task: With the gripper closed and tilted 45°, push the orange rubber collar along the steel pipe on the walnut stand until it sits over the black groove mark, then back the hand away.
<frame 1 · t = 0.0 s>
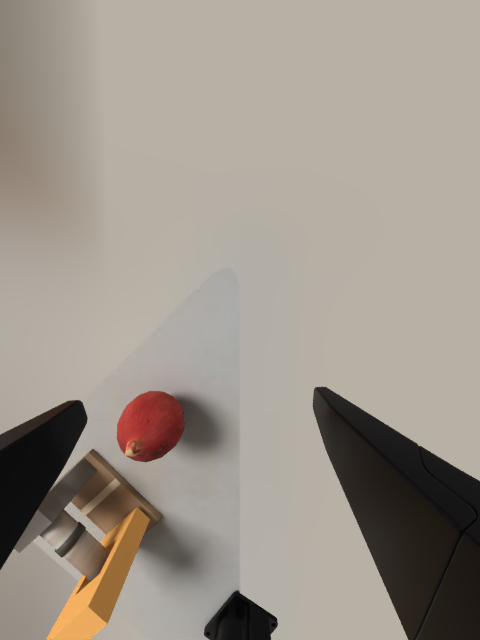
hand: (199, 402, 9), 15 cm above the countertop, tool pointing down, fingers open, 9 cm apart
collar: (106, 571, 21), point 5 cm above the countertop, slide at 0.0 cm
onion: (166, 404, 25), on the countertop
pipe stand: (110, 498, 25), on the countertop
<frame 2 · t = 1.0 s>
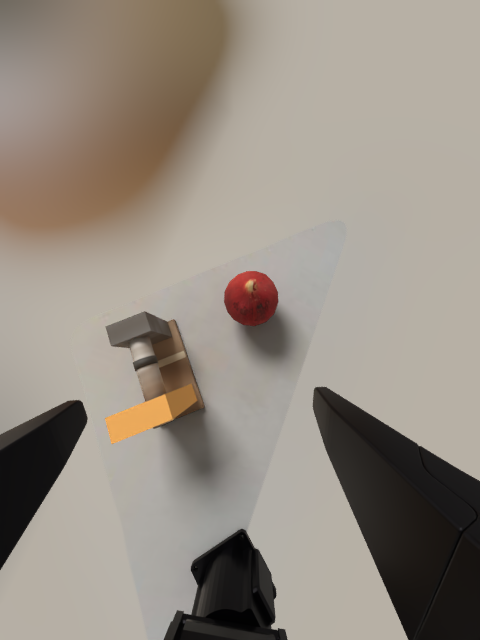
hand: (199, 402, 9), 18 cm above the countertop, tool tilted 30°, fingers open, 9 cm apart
collar: (159, 407, 21), point 5 cm above the countertop, slide at 0.0 cm
onion: (251, 307, 28), on the countertop
pipe stand: (167, 370, 27), on the countertop
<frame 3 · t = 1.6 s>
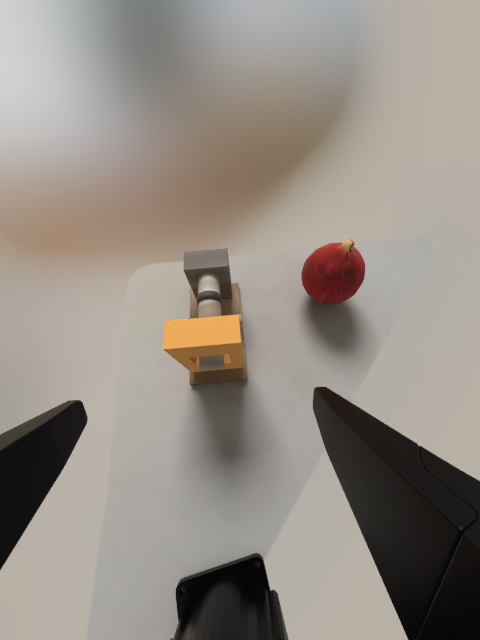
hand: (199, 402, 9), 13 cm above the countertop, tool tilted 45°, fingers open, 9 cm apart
collar: (211, 348, 18), point 5 cm above the countertop, slide at 0.0 cm
onion: (319, 294, 26), on the countertop
pipe stand: (216, 330, 24), on the countertop
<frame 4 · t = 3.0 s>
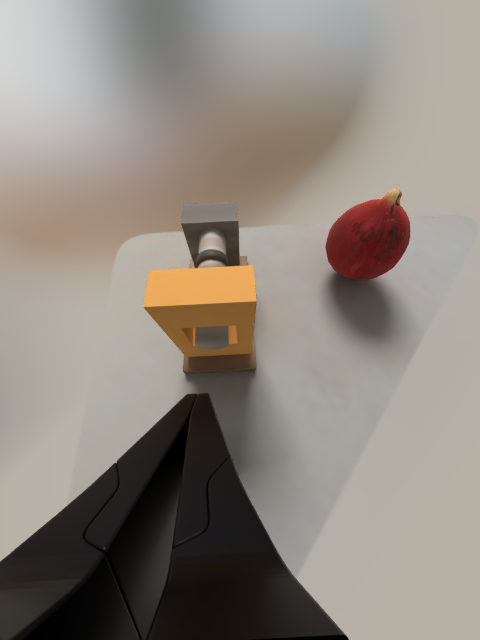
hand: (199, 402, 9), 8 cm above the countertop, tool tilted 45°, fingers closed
collar: (212, 321, 14), point 5 cm above the countertop, slide at 0.0 cm
onion: (344, 272, 22), on the countertop
pipe stand: (219, 309, 20), on the countertop
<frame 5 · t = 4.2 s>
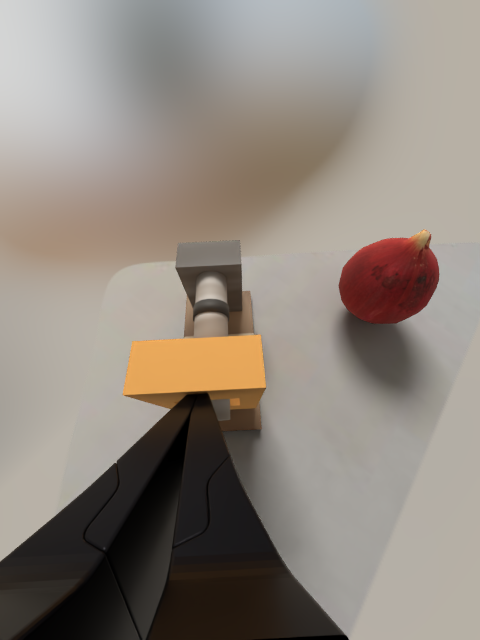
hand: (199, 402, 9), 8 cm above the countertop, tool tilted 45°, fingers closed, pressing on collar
collar: (210, 383, 12), point 5 cm above the countertop, slide at 0.3 cm, touching gripper
onion: (358, 309, 19), on the countertop
pipe stand: (219, 354, 18), on the countertop
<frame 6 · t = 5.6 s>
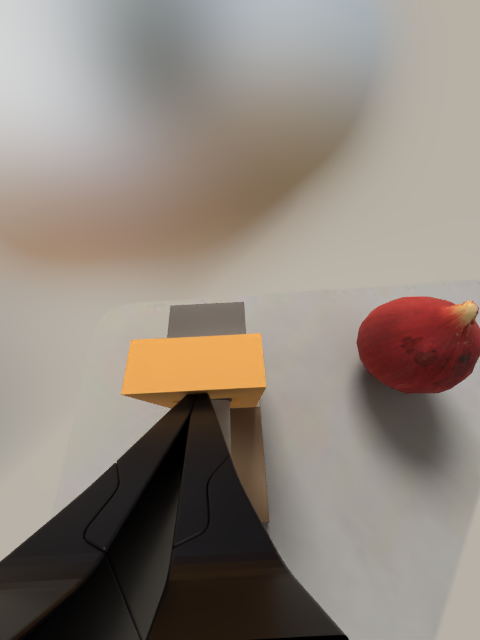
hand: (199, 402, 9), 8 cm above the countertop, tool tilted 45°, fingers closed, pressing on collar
collar: (210, 382, 12), point 5 cm above the countertop, slide at 5.1 cm, touching gripper
onion: (376, 361, 17), on the countertop
pipe stand: (220, 418, 15), on the countertop
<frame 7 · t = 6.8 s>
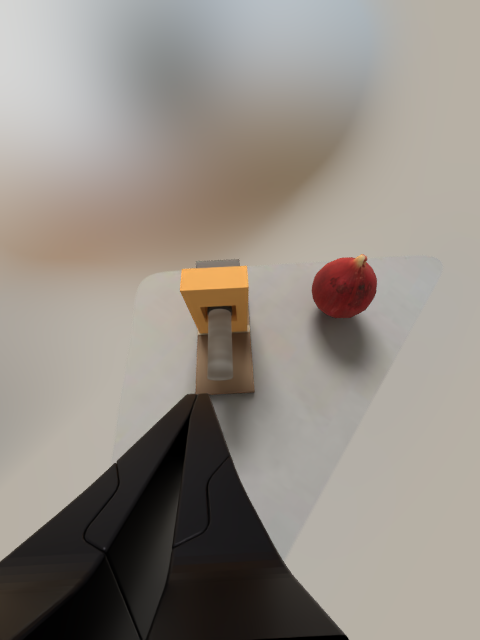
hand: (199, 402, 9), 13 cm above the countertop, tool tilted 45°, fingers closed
collar: (219, 304, 20), point 5 cm above the countertop, slide at 5.1 cm
onion: (329, 307, 26), on the countertop
pipe stand: (224, 340, 24), on the countertop
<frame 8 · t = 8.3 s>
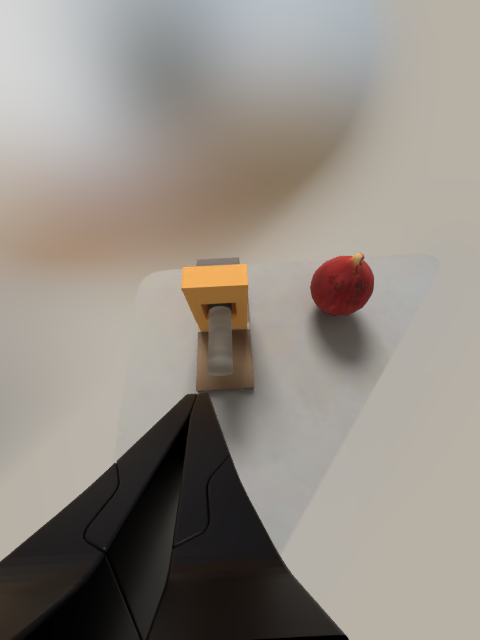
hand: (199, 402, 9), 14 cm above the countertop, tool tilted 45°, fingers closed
collar: (219, 302, 21), point 5 cm above the countertop, slide at 5.1 cm
onion: (327, 305, 26), on the countertop
pipe stand: (224, 338, 24), on the countertop
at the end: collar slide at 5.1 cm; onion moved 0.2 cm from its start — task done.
